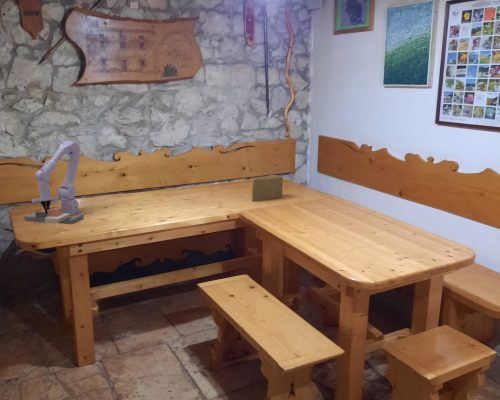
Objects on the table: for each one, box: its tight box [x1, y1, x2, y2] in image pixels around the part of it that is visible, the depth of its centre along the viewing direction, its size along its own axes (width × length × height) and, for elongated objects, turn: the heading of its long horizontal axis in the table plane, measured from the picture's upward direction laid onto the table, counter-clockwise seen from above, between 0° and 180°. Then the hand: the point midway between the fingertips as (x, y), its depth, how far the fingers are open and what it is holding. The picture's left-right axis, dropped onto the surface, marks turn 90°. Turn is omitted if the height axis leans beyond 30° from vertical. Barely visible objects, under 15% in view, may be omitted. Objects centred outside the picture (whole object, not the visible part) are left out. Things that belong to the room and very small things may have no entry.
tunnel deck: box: [23, 206, 85, 225], centre depth 294 cm, size 32×11×6 cm, turn 74°
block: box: [47, 206, 63, 217], centre depth 294 cm, size 6×6×4 cm
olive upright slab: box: [251, 174, 284, 202], centre depth 333 cm, size 22×10×15 cm, turn 127°
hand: (46, 213), depth 295 cm, fingers closed
